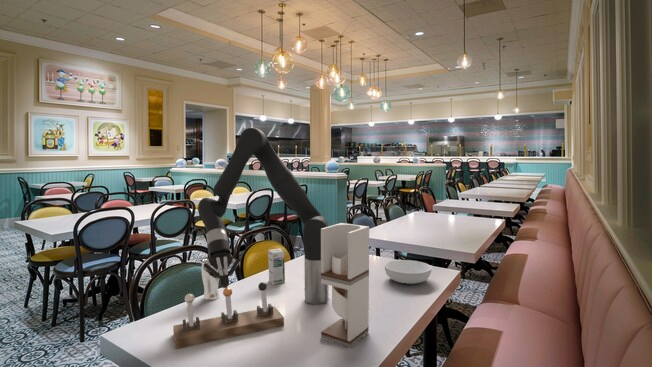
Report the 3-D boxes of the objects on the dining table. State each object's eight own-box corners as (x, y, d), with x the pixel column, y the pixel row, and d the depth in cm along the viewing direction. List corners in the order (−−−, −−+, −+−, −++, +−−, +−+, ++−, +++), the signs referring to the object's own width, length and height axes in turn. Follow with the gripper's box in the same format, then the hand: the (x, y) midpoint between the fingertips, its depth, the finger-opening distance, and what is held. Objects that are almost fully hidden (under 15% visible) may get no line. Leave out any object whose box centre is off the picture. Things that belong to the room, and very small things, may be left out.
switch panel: (274, 314, 137) (274, 298, 137) (284, 325, 128) (283, 309, 128) (173, 334, 123) (172, 317, 122) (176, 349, 114) (175, 330, 113)
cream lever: (196, 326, 122) (193, 292, 124) (197, 327, 119) (194, 292, 121) (186, 328, 120) (183, 294, 122) (186, 329, 118) (184, 294, 120)
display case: (341, 324, 129) (341, 222, 126) (368, 332, 123) (369, 226, 120) (321, 337, 120) (320, 228, 117) (350, 347, 114) (350, 233, 111)
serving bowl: (437, 278, 176) (437, 263, 175) (422, 292, 158) (422, 276, 158) (394, 270, 187) (395, 257, 186) (376, 283, 169) (376, 268, 169)
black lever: (268, 312, 132) (265, 281, 134) (270, 313, 129) (267, 281, 131) (260, 314, 131) (256, 282, 133) (262, 314, 128) (259, 282, 130)
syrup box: (272, 284, 168) (272, 252, 167) (268, 280, 173) (268, 249, 172) (285, 282, 170) (284, 250, 169) (280, 278, 176) (279, 247, 174)
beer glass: (215, 301, 149) (214, 264, 148) (199, 300, 151) (197, 263, 149) (223, 294, 156) (222, 259, 155) (207, 293, 158) (206, 258, 156)
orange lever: (233, 319, 127) (230, 286, 129) (235, 320, 124) (232, 287, 126) (224, 321, 126) (221, 288, 128) (226, 322, 123) (223, 288, 125)
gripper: (199, 240, 134) (206, 285, 124) (237, 236, 140) (246, 278, 130) (198, 251, 140) (204, 295, 130) (234, 247, 145) (243, 288, 135)
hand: (225, 286), depth 130 cm, fingers closed
